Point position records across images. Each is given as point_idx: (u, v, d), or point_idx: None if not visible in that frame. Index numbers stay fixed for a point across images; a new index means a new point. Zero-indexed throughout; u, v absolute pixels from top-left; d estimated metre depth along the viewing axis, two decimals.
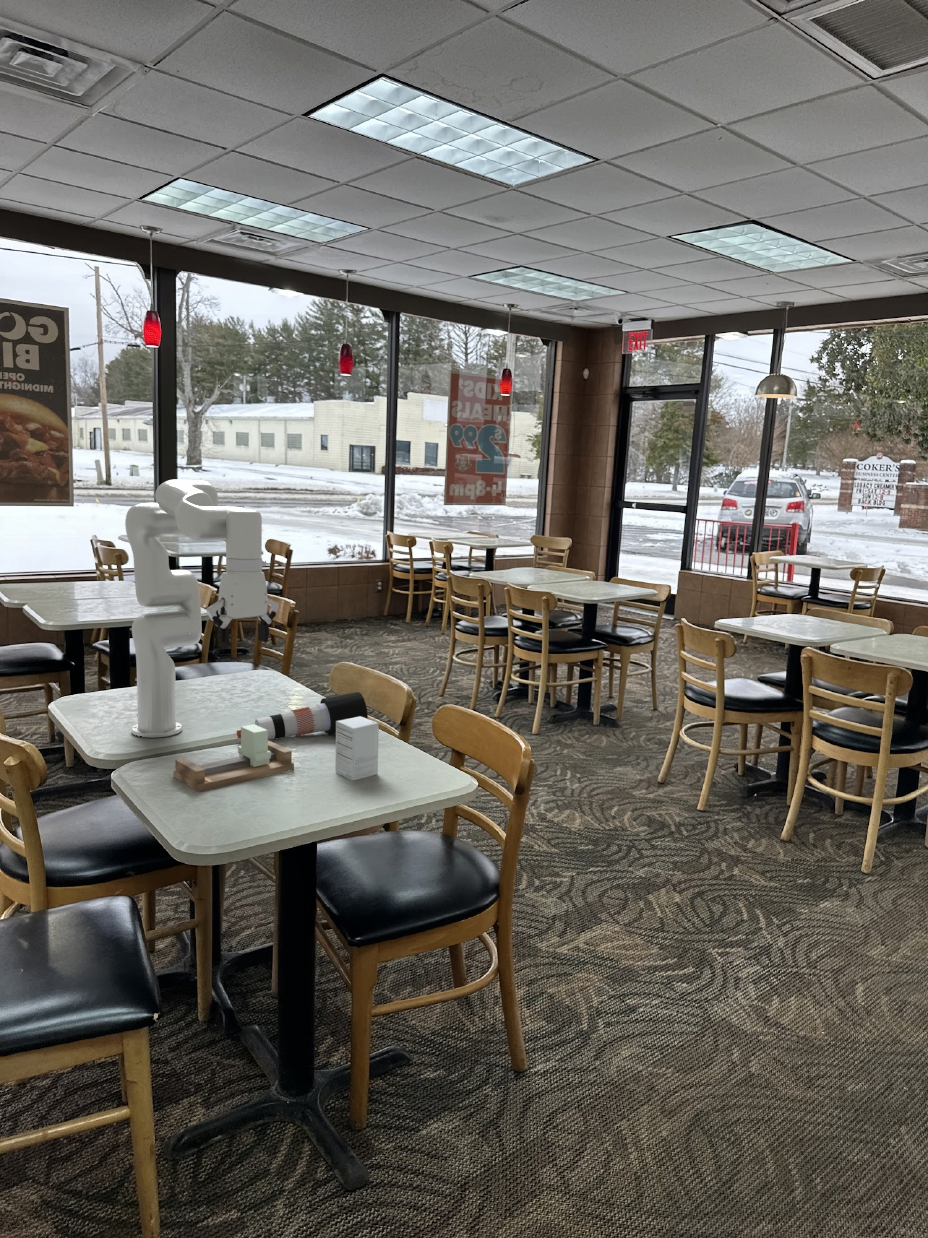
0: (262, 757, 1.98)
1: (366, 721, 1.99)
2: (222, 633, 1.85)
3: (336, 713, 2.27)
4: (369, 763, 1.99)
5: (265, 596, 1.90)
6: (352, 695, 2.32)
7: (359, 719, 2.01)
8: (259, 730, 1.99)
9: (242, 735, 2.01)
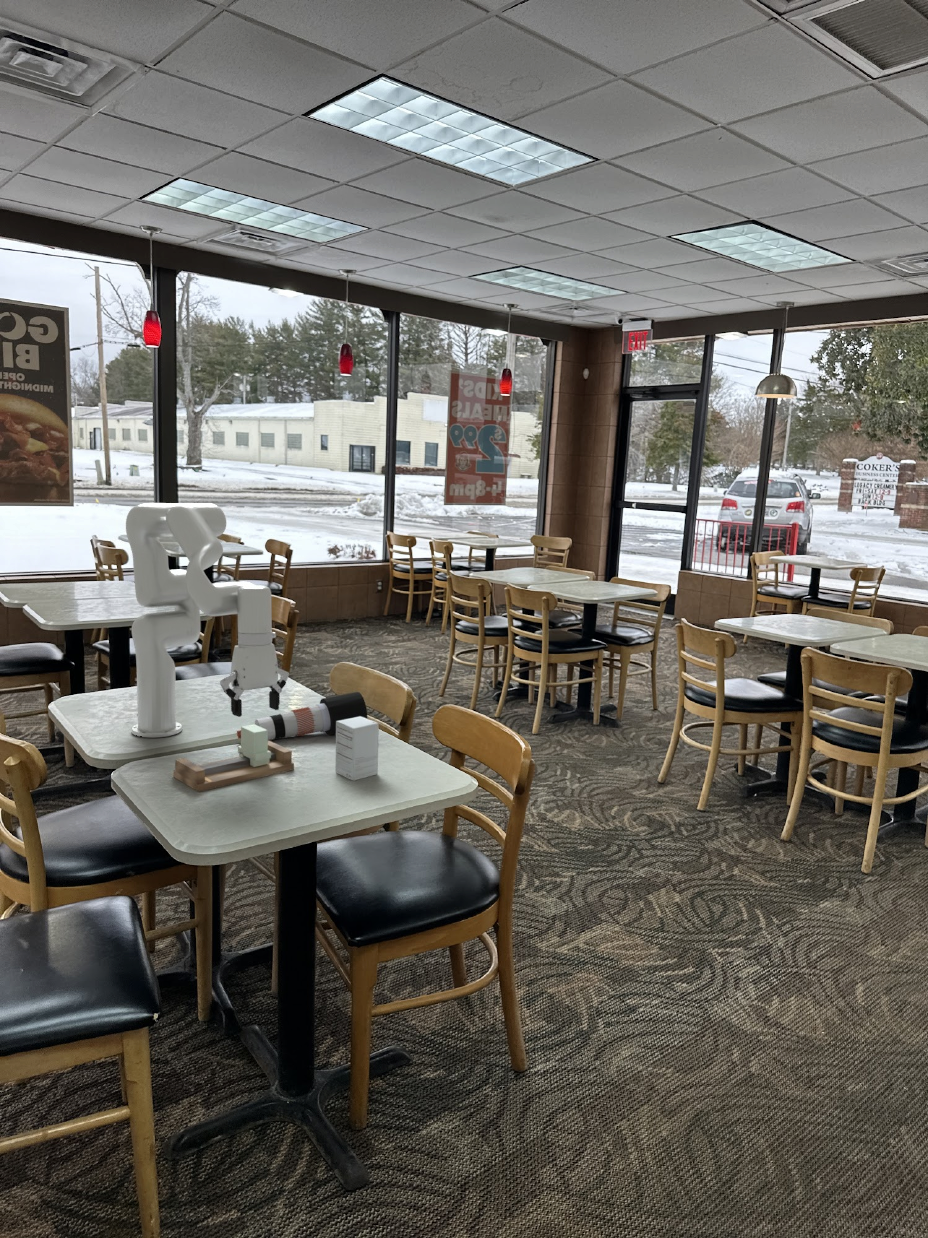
0: (262, 757, 1.98)
1: (366, 721, 1.99)
2: (235, 704, 1.94)
3: (336, 713, 2.27)
4: (369, 763, 1.99)
5: (275, 667, 1.99)
6: (352, 695, 2.32)
7: (359, 719, 2.01)
8: (259, 730, 1.99)
9: (242, 735, 2.01)
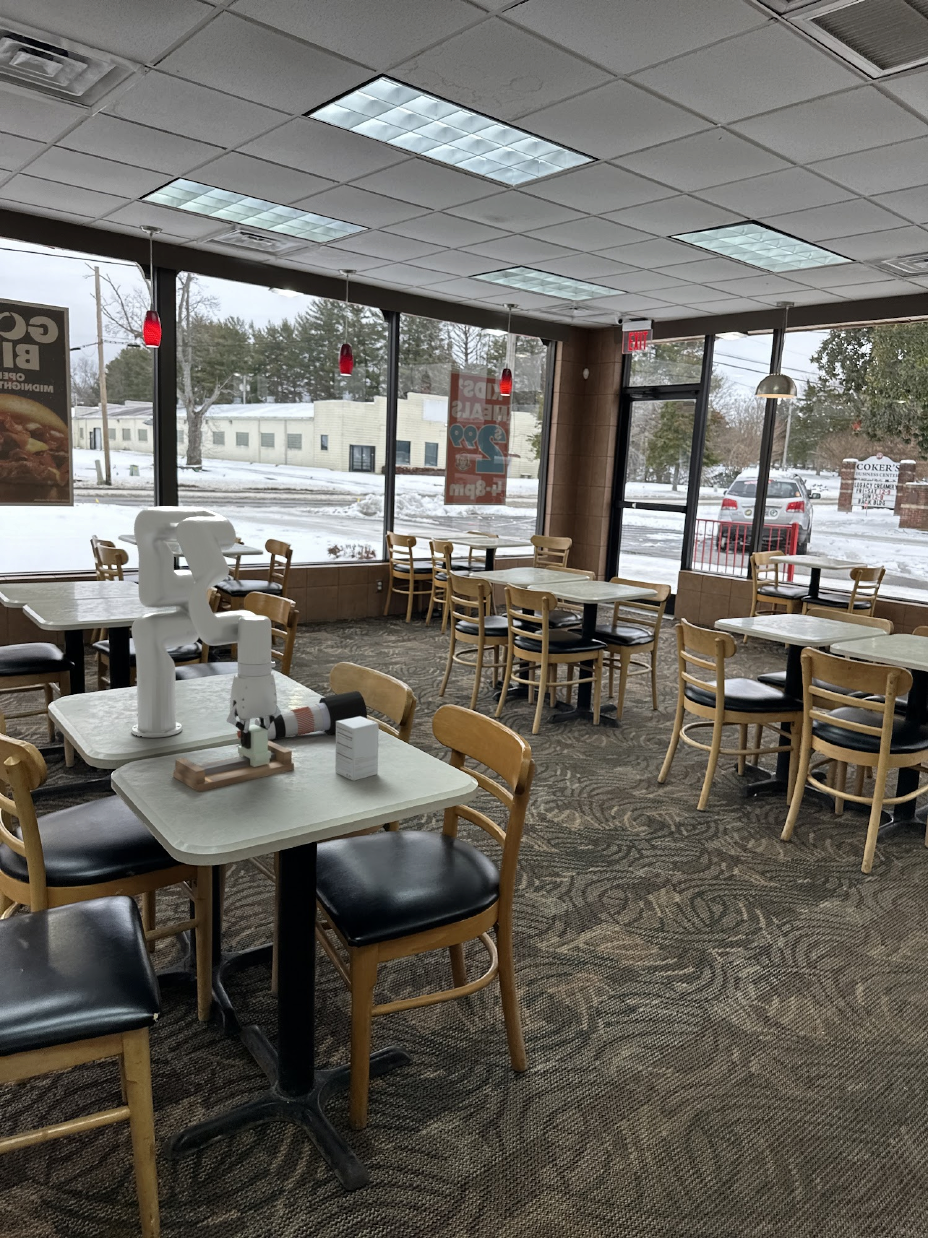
0: (262, 757, 1.98)
1: (366, 721, 1.99)
2: (245, 737, 1.98)
3: (336, 712, 2.27)
4: (369, 763, 1.99)
5: (274, 696, 2.00)
6: (351, 694, 2.32)
7: (359, 719, 2.01)
8: (259, 730, 1.99)
9: None
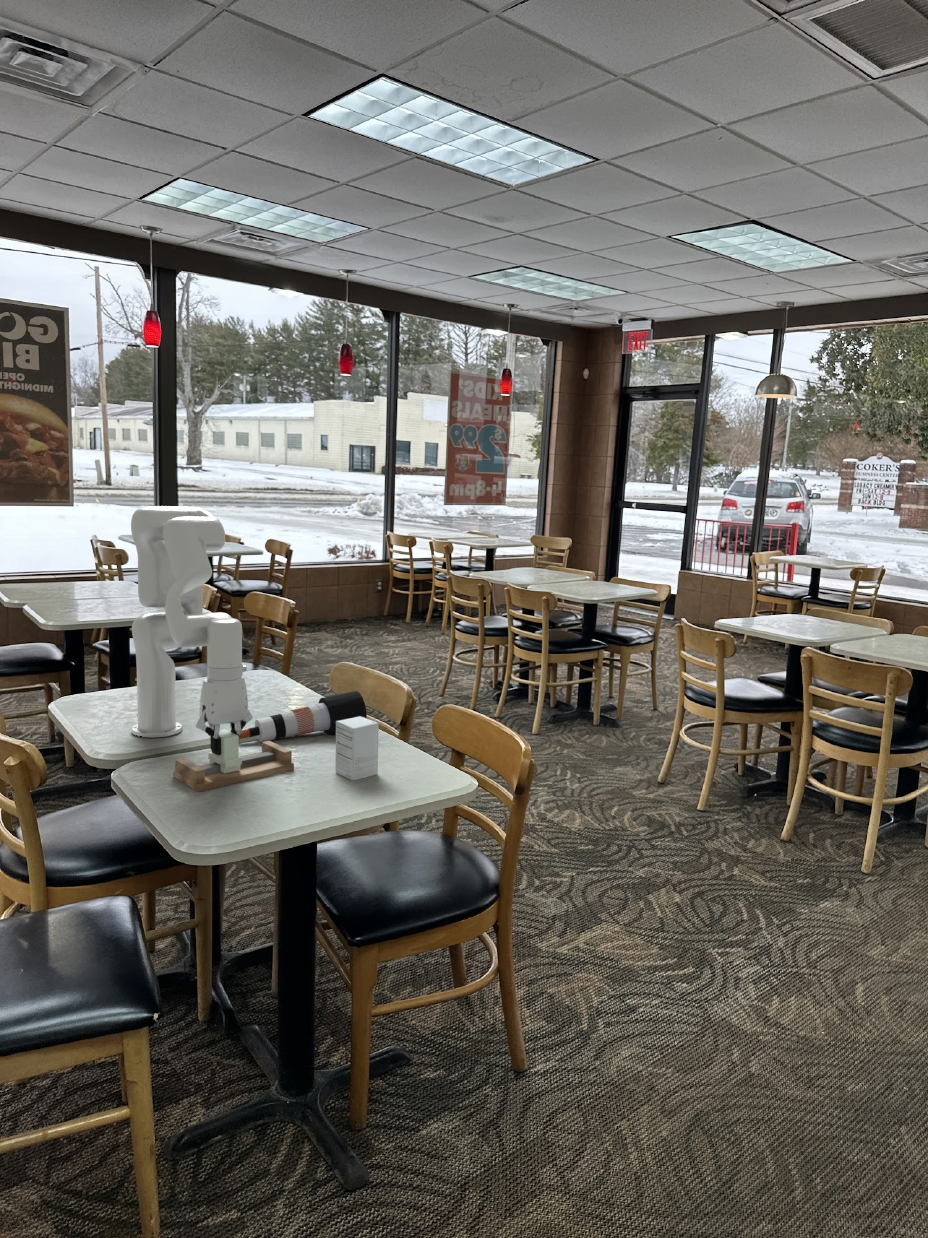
0: (232, 763, 1.93)
1: (366, 721, 1.99)
2: (214, 743, 1.92)
3: (336, 712, 2.28)
4: (369, 763, 1.99)
5: (245, 701, 1.95)
6: (351, 694, 2.33)
7: (359, 719, 2.01)
8: (230, 736, 1.93)
9: None
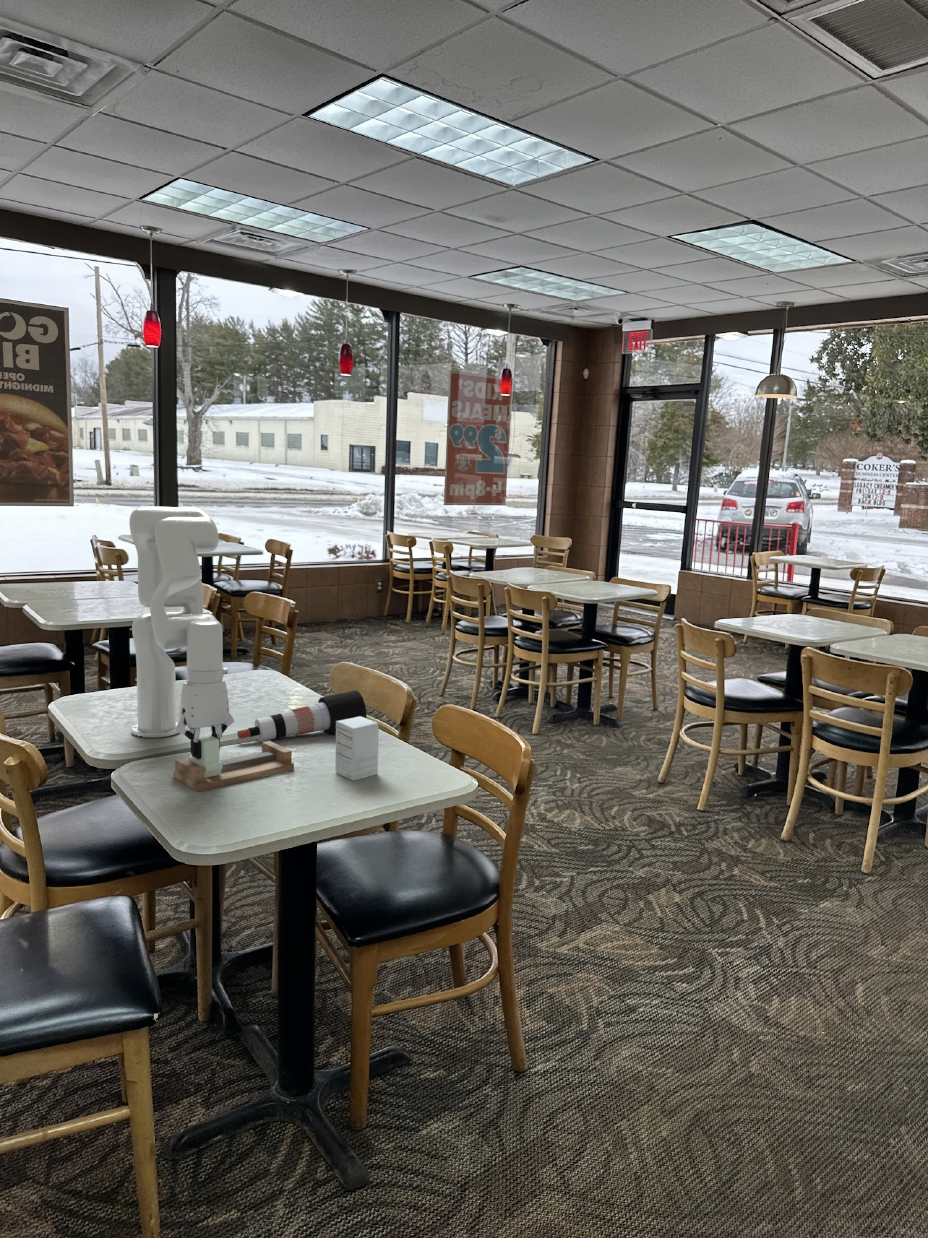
0: (213, 768, 1.89)
1: (366, 721, 1.99)
2: (195, 747, 1.89)
3: (336, 712, 2.28)
4: (369, 763, 1.99)
5: (226, 704, 1.92)
6: (350, 694, 2.33)
7: (359, 719, 2.01)
8: (210, 739, 1.90)
9: None
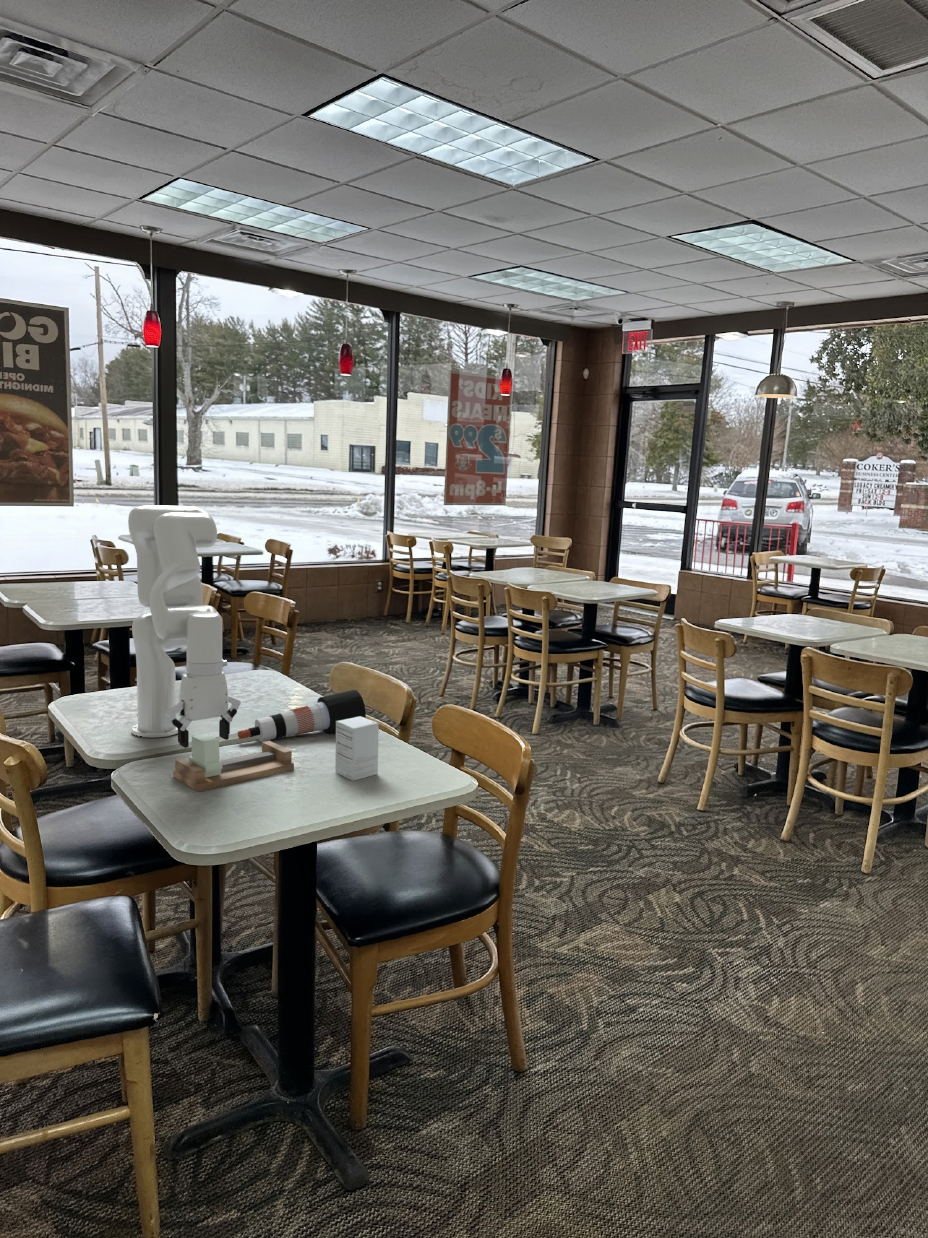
0: (213, 768, 1.89)
1: (366, 721, 1.99)
2: (182, 735, 1.87)
3: (336, 711, 2.28)
4: (369, 763, 1.99)
5: (226, 696, 1.92)
6: (349, 693, 2.34)
7: (359, 719, 2.01)
8: (210, 739, 1.90)
9: (193, 745, 1.92)
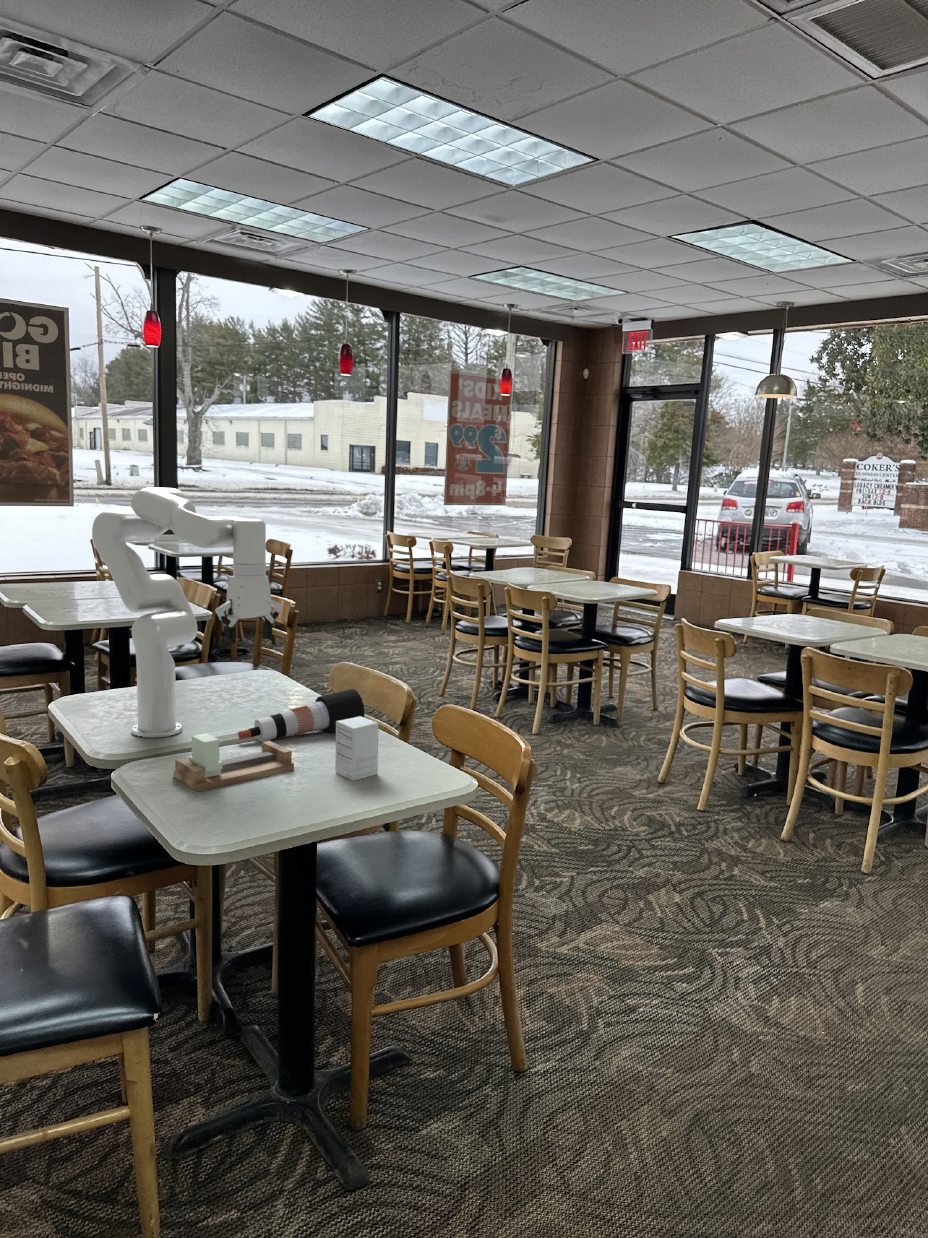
0: (213, 768, 1.89)
1: (366, 721, 1.99)
2: (230, 631, 2.03)
3: (335, 711, 2.29)
4: (369, 763, 1.99)
5: (269, 598, 2.08)
6: (348, 692, 2.35)
7: (359, 719, 2.01)
8: (210, 739, 1.90)
9: (193, 745, 1.92)
